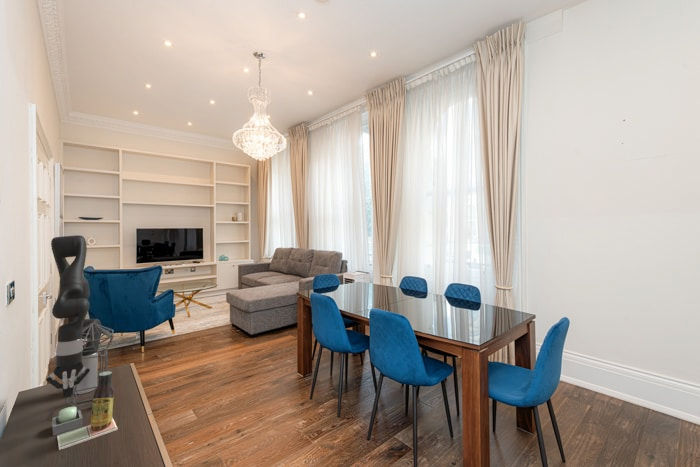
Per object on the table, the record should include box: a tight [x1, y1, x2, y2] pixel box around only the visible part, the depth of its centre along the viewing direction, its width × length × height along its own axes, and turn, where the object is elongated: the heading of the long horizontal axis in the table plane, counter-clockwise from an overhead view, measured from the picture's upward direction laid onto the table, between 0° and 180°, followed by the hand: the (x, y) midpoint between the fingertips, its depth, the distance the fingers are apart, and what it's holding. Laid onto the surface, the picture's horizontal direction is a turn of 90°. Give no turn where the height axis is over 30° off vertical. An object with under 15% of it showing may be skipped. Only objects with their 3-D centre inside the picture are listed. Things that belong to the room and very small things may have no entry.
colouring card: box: [56, 417, 119, 451], centre depth 113 cm, size 10×16×1 cm, turn 136°
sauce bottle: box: [90, 370, 115, 431], centre depth 116 cm, size 7×6×20 cm
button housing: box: [51, 409, 84, 437], centre depth 117 cm, size 8×8×3 cm
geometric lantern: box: [64, 323, 115, 412], centre depth 133 cm, size 16×16×35 cm
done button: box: [58, 406, 77, 424], centre depth 117 cm, size 5×5×4 cm
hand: (67, 397), depth 117 cm, fingers closed
